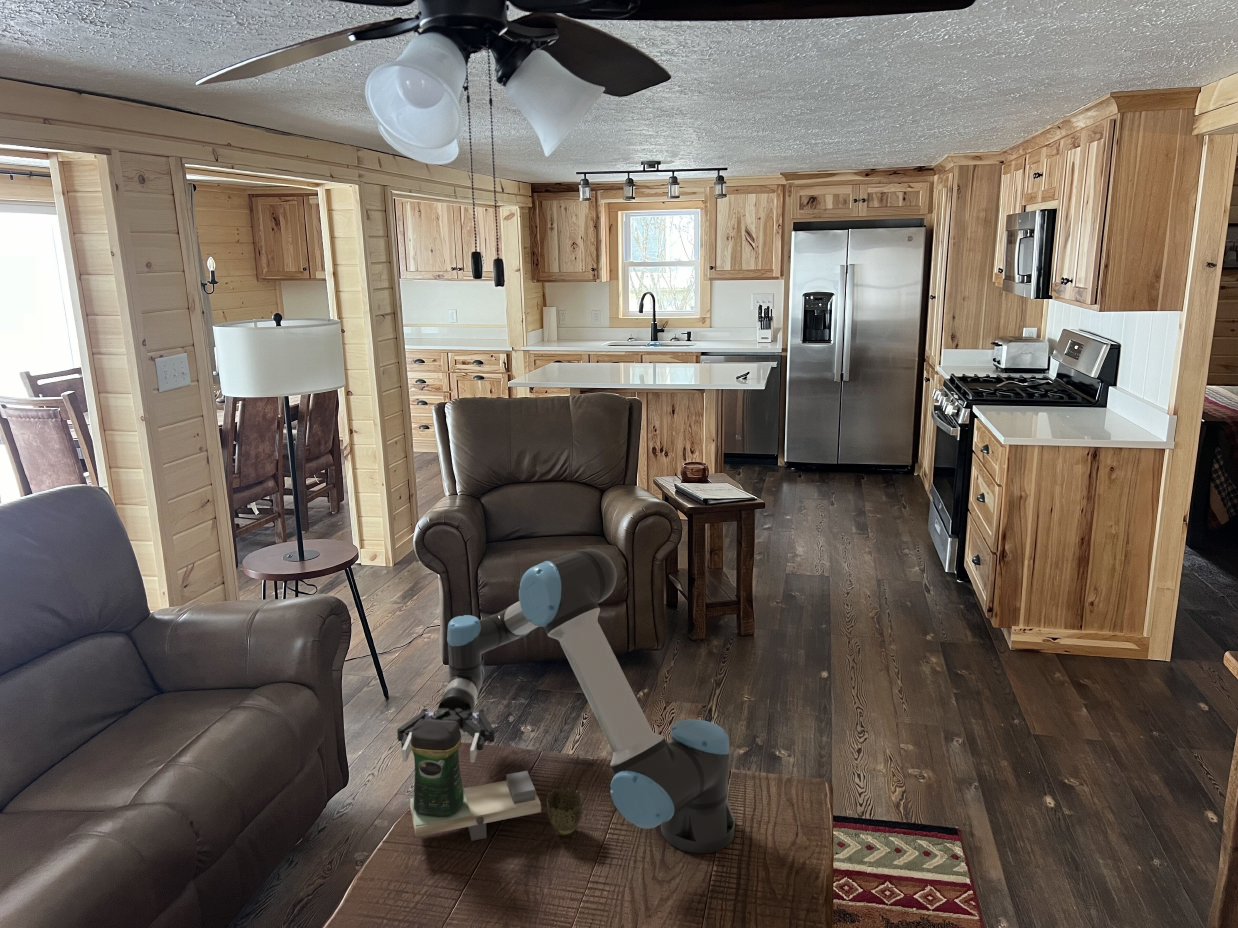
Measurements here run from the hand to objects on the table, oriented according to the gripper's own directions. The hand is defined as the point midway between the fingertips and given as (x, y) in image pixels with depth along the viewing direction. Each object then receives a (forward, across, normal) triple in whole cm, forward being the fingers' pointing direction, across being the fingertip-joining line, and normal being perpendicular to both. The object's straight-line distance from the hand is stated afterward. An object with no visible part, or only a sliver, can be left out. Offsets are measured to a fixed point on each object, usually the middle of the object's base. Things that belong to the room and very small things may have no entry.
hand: (438, 755), depth 172 cm
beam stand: (-1, -7, -17) cm, 19 cm away
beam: (-1, -7, -12) cm, 14 cm away
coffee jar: (+2, 0, -11) cm, 11 cm away
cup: (0, -25, -17) cm, 31 cm away
